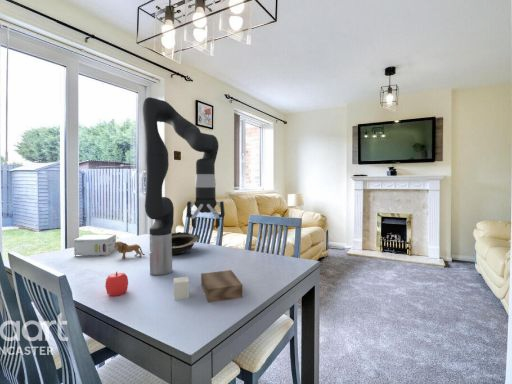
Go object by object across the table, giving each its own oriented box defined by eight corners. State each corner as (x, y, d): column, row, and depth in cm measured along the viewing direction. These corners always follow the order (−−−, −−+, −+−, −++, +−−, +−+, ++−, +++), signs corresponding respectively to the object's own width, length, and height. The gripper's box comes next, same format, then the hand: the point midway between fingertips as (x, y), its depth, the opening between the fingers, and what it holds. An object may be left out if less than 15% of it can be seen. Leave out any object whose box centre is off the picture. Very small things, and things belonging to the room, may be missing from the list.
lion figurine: (114, 260, 141) (113, 242, 140) (114, 257, 146) (114, 240, 145) (145, 257, 147) (144, 240, 146) (144, 254, 152) (144, 238, 151)
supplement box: (73, 257, 148) (73, 239, 147) (85, 250, 161) (85, 234, 160) (107, 255, 150) (106, 238, 149) (116, 249, 163) (116, 233, 162)
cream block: (174, 300, 95) (174, 283, 95) (173, 294, 100) (173, 278, 99) (189, 298, 97) (189, 281, 96) (188, 292, 101) (187, 276, 101)
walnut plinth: (208, 303, 93) (207, 289, 93) (201, 286, 108) (201, 273, 108) (242, 298, 97) (242, 284, 97) (231, 282, 112) (231, 270, 112)
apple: (110, 300, 95) (109, 277, 95) (101, 294, 100) (100, 272, 100) (133, 292, 101) (132, 271, 101) (123, 287, 106) (122, 266, 106)
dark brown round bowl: (190, 243, 175) (191, 229, 174) (205, 256, 153) (205, 240, 152) (149, 248, 162) (149, 233, 161) (158, 263, 141) (158, 245, 140)
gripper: (184, 186, 102) (185, 230, 103) (223, 186, 103) (223, 229, 104) (188, 185, 110) (189, 226, 111) (224, 185, 110) (225, 226, 111)
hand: (206, 228), depth 107 cm, fingers open, 8 cm apart
